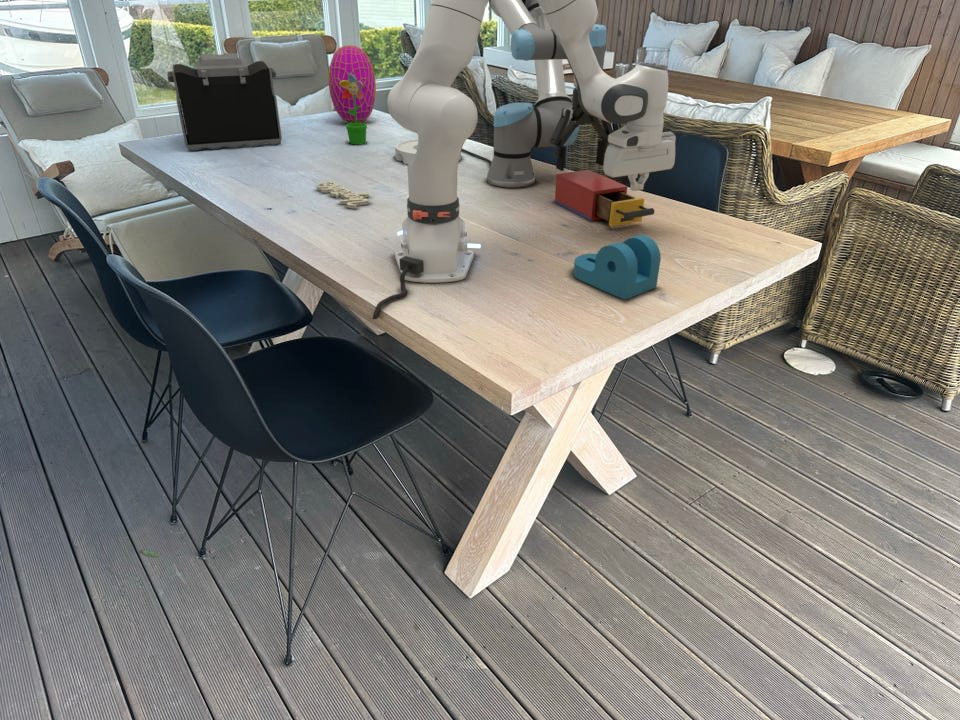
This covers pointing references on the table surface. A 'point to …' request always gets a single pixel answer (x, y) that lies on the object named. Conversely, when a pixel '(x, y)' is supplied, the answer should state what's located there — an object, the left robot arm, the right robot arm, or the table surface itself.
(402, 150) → the ashtray
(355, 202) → the decorative sign
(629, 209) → the drawer
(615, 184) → the red case
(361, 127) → the potted flower
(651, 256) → the camera mount
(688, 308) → the table surface
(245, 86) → the electronic device
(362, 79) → the decorative egg
